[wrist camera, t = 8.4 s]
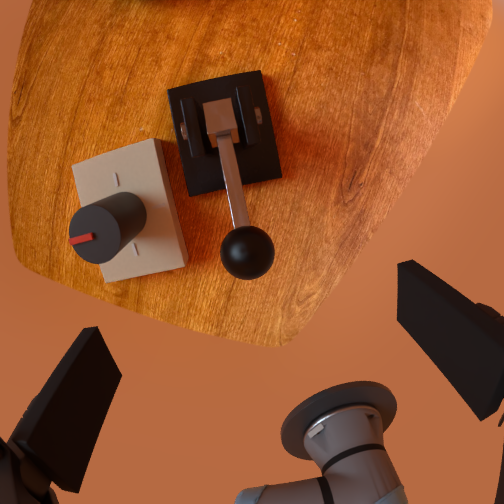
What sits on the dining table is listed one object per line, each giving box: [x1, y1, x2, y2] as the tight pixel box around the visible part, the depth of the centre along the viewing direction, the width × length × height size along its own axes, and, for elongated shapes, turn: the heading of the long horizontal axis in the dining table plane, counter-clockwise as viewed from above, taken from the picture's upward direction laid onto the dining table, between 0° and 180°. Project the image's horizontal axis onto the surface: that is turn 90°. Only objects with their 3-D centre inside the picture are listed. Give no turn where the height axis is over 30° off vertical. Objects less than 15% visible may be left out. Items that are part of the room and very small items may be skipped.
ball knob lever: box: [202, 98, 275, 280], centre depth 21 cm, size 13×4×4 cm, turn 11°
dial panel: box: [72, 138, 189, 283], centre depth 31 cm, size 14×10×3 cm
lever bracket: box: [167, 70, 282, 197], centre depth 25 cm, size 12×10×12 cm
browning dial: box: [69, 192, 147, 264], centre depth 26 cm, size 5×5×8 cm
